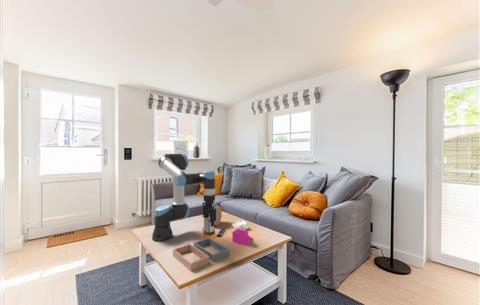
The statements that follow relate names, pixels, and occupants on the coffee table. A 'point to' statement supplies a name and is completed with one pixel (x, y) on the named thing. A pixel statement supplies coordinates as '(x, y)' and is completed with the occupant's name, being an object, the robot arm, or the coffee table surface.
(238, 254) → the coffee table surface
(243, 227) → the lotus flower
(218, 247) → the trough
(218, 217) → the beige tall rounded piece
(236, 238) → the bracket
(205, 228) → the stone block
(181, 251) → the trough
